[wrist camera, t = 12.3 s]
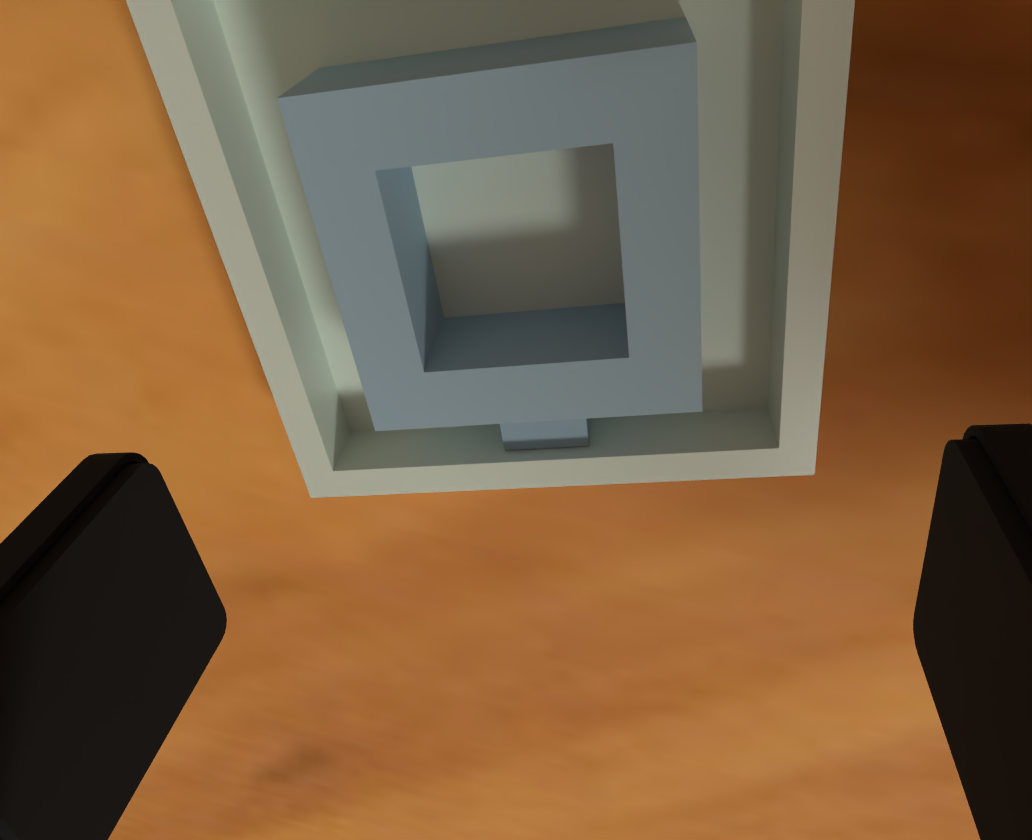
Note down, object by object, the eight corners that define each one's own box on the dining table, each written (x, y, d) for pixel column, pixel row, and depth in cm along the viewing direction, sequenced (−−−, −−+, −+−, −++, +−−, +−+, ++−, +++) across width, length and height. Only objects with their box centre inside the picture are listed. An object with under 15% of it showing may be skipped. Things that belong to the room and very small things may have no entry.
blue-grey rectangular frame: (685, 16, 14) (696, 42, 13) (694, 409, 19) (703, 472, 17) (319, 67, 16) (276, 98, 14) (413, 427, 20) (392, 487, 18)
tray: (795, 413, 20) (814, 474, 18) (337, 440, 22) (310, 497, 20) (833, -182, 13) (871, -188, 11) (170, -67, 15) (104, -56, 13)
